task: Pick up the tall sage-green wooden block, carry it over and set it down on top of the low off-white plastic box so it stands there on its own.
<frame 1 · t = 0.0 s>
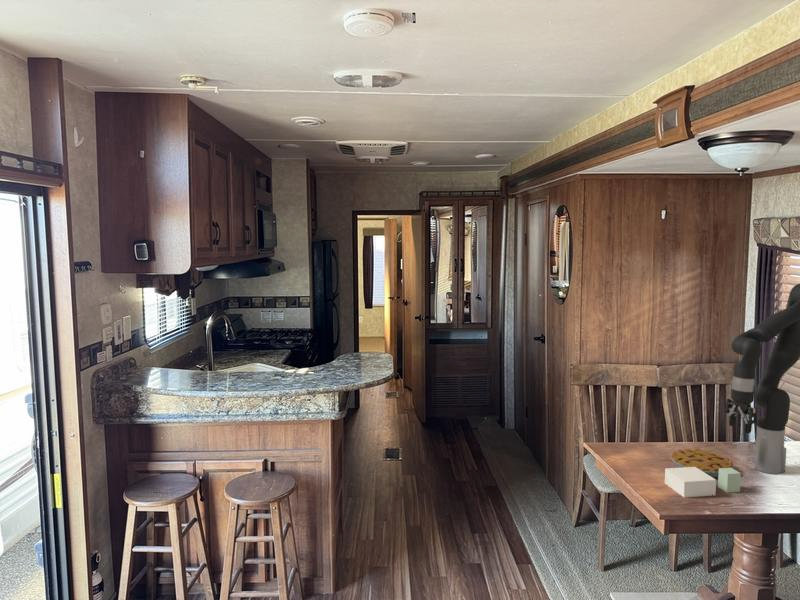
hand: (739, 429, 220), 17 cm above the table, fingers open, 8 cm apart
pie: (701, 469, 225), on the table
base box: (689, 489, 207), on the table
sage block: (728, 489, 206), on the table
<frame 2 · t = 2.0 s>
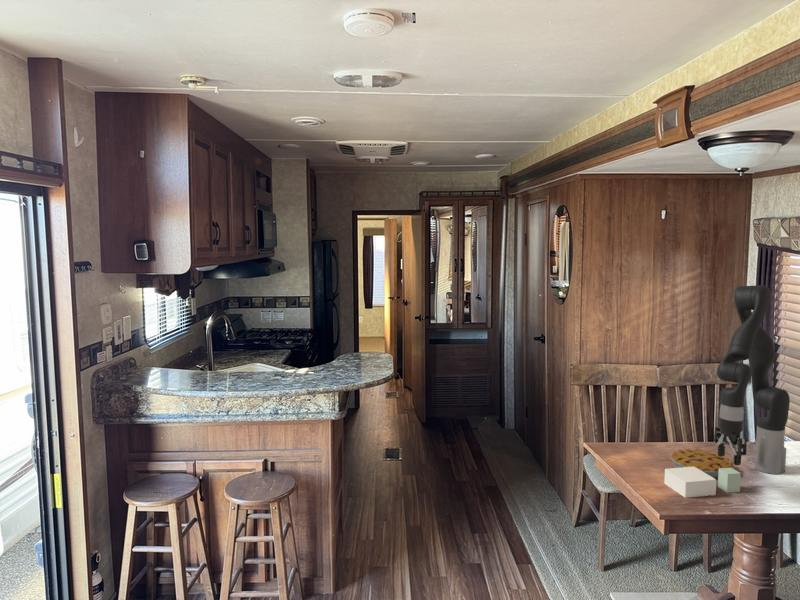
hand: (728, 460, 205), 11 cm above the table, fingers open, 8 cm apart
nothing on the table moved.
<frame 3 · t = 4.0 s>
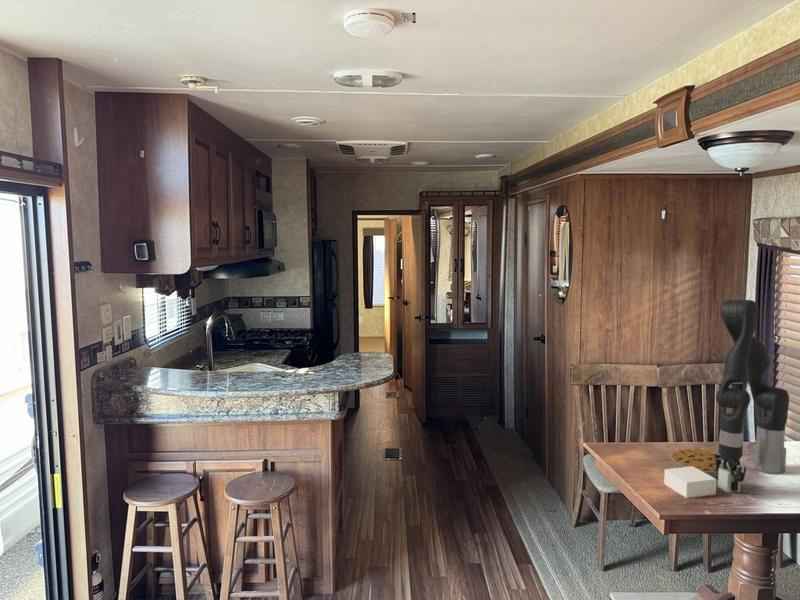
hand: (728, 487, 206), 1 cm above the table, fingers closed on sage block, 5 cm apart
sage block: (728, 489, 206), on the table, touching gripper
everything else where it was.
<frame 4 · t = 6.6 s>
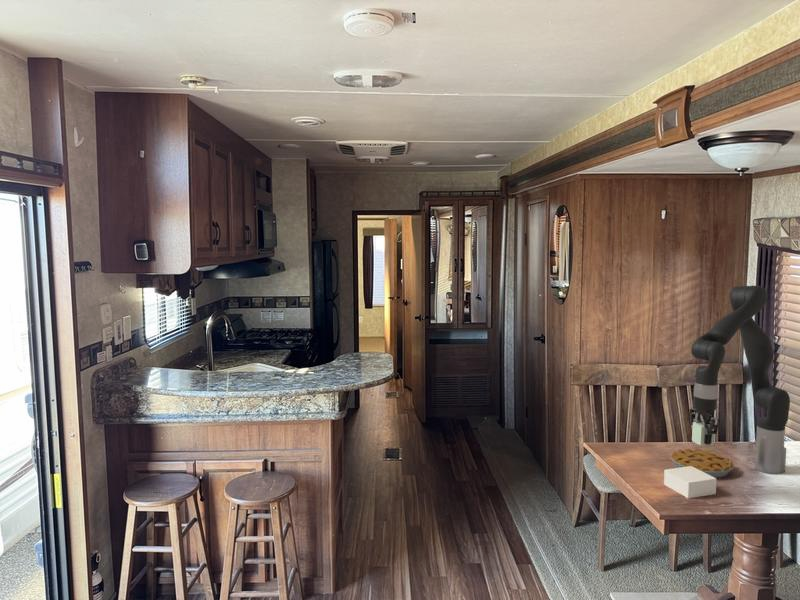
hand: (702, 441, 204), 18 cm above the table, fingers closed on sage block, 5 cm apart
sage block: (702, 443, 204), point 18 cm above the table, touching gripper
everything else where it was.
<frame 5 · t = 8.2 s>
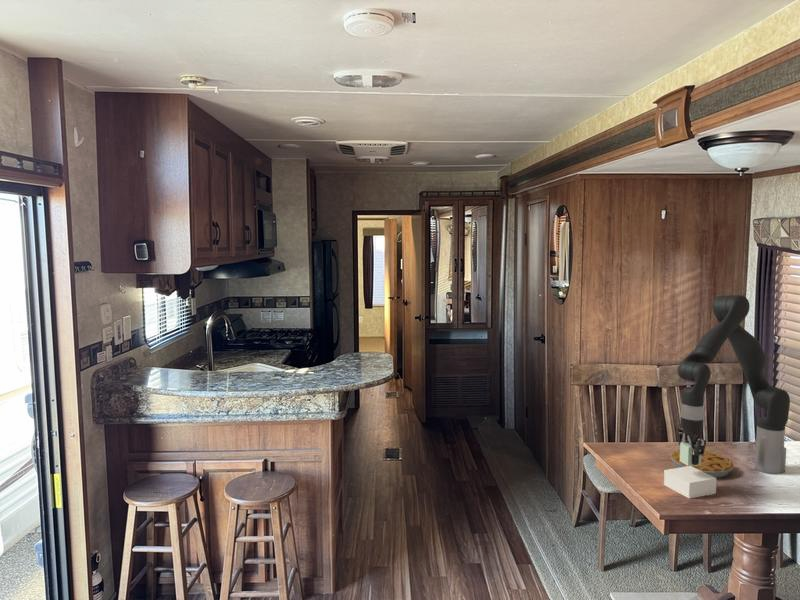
hand: (690, 461, 206), 10 cm above the table, fingers closed on sage block, 5 cm apart
sage block: (690, 463, 206), point 10 cm above the table, touching gripper
everything else where it was.
when the fingers open (8 cm above the table, at t = 9.5 s): sage block drops 2 cm, resting on base box.
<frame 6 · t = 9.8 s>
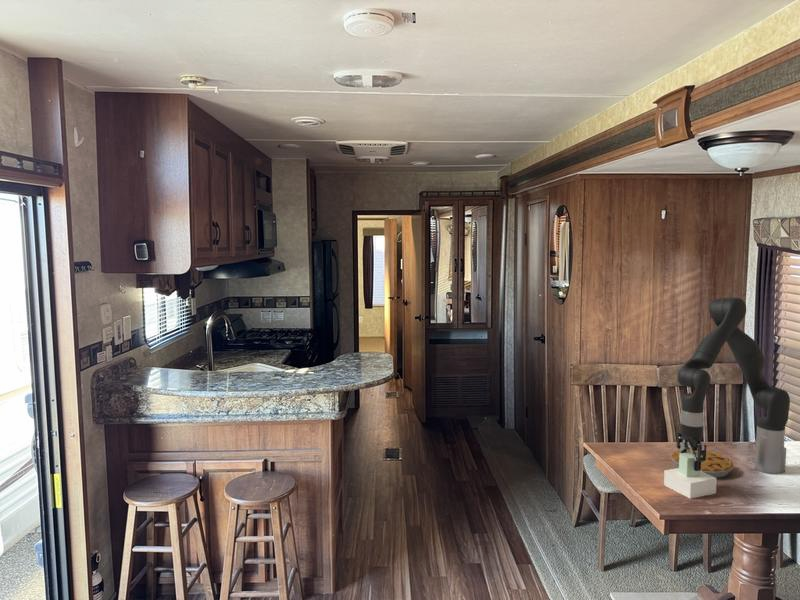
hand: (690, 466, 206), 9 cm above the table, fingers open, 7 cm apart
base box: (689, 490, 207), on the table, touching sage block
sage block: (689, 473, 207), point 6 cm above the table, touching base box
everything else where it was.
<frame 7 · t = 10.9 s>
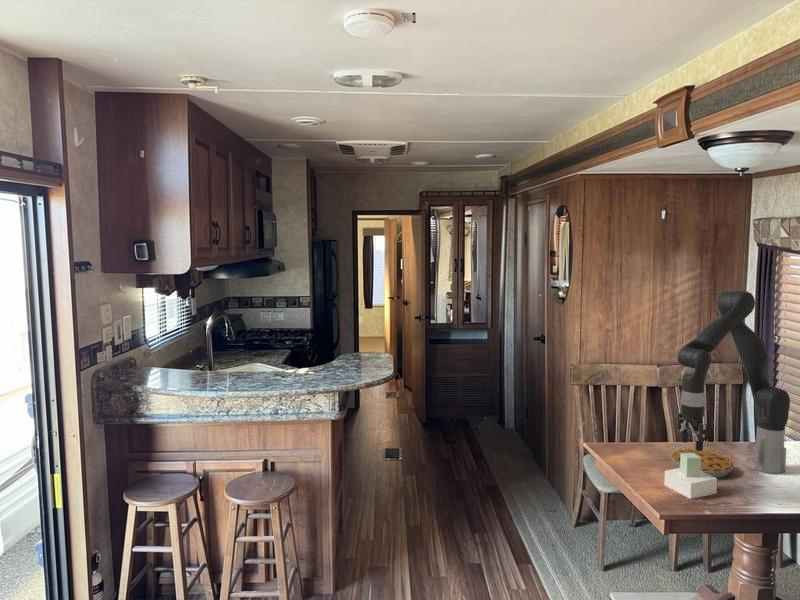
hand: (691, 446, 205), 16 cm above the table, fingers open, 8 cm apart
base box: (689, 490, 207), on the table
sage block: (690, 473, 206), point 6 cm above the table
everything else where it was.
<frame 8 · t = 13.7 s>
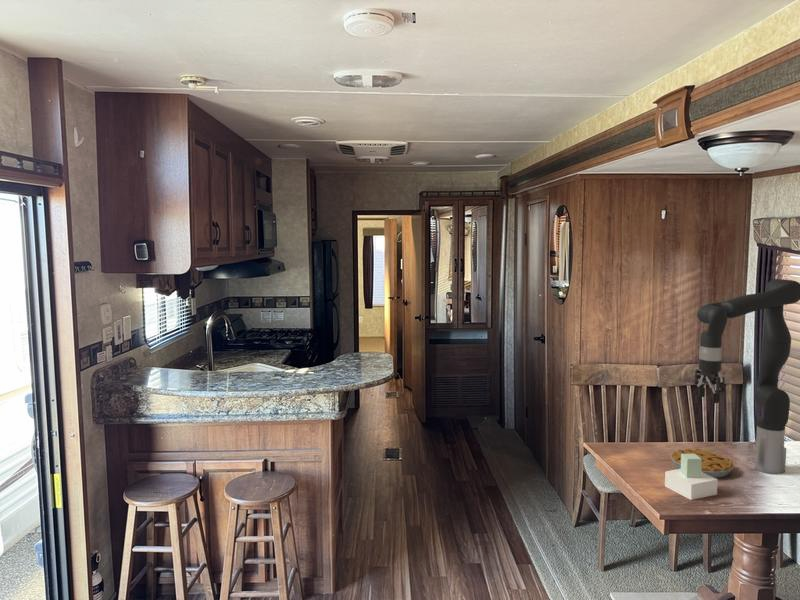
hand: (708, 399, 215), 30 cm above the table, fingers open, 8 cm apart
nothing on the table moved.
at the end: sage block inside the target area on the base box (0.4 cm from its centre), point 6.0 cm above the base box's base; sage block tilted 0°; the gripper is holding nothing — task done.
